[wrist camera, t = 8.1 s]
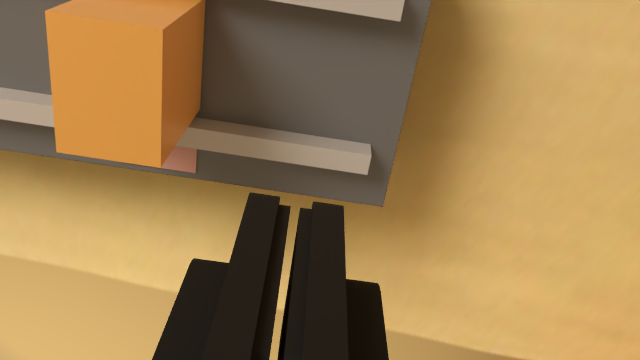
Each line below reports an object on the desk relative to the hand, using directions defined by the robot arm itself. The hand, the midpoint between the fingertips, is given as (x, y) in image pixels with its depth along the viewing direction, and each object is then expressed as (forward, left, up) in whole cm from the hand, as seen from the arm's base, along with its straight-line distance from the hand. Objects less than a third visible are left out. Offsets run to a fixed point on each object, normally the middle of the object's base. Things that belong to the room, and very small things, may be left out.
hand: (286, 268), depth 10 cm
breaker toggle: (+6, 0, -11) cm, 12 cm away
